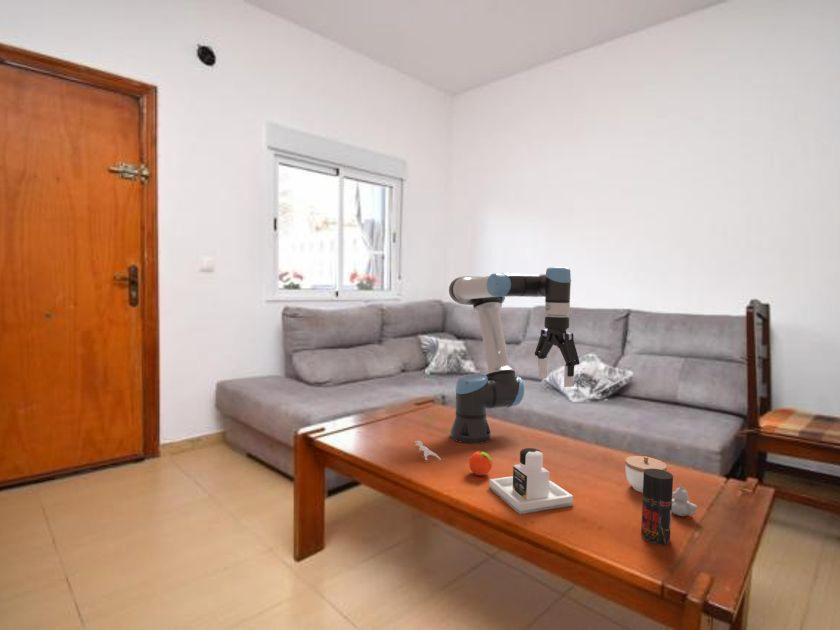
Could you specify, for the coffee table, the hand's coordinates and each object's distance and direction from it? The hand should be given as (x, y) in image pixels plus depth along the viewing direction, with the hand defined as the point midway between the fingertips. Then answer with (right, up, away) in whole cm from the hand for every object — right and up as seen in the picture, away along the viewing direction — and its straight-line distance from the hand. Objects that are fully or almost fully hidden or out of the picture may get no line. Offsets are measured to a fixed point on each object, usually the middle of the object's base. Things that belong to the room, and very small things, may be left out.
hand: (554, 382), depth 148 cm
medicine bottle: (-13, -27, -22) cm, 37 cm away
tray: (-13, -28, -22) cm, 38 cm away
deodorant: (+11, -30, -42) cm, 53 cm away
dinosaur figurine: (-41, -27, +4) cm, 49 cm away
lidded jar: (+21, -28, -16) cm, 39 cm away
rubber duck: (+23, -29, -32) cm, 49 cm away
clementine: (-25, -27, -8) cm, 37 cm away
